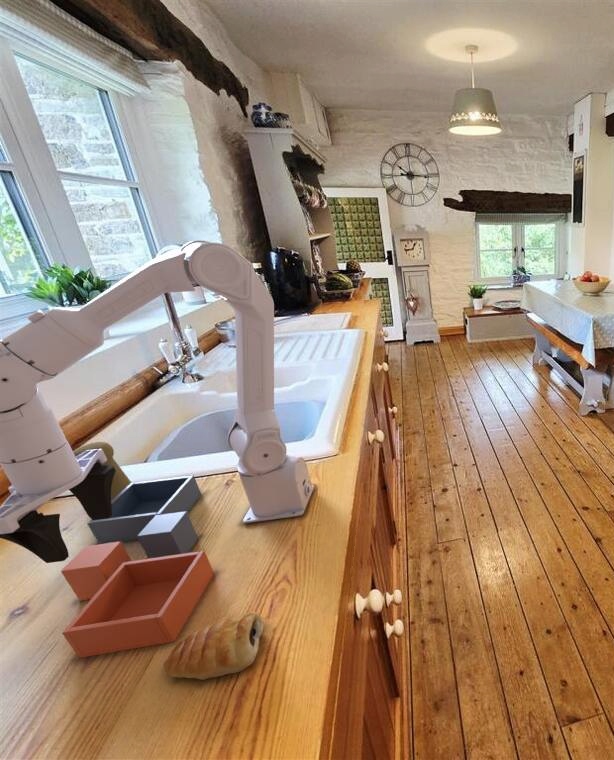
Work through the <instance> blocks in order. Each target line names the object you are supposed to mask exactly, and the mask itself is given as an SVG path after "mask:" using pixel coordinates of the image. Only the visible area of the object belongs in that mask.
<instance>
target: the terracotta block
mask: <svg viewBox="0 0 614 760" xmlns="http://www.w3.org/2000/svg"><path fill="white" fill-rule="evenodd" d="M129 561H132V559H131V557H130V555H129V553H128V551H127V550H126V548H125V546H124V544H123V542H121V541H120V542H113V543H105V544H98V543H97V544H92V545H91V544H90V545H86V546H85V547H84V548H83V549H82V550H80V551H79V553H78V554H77V555H76V556H75V557H74V558H72V560H71V561H70V562H68V564H66V565H65V567H64V568H62V570H60V573H61V575H62V576H63V577H64V579H65V580H66V582H67V584H68V585H69V586H70V588H71V589H72V591H73V593H74V595H75V596H76V597H77V600H78V601H79V602H80V601H87V600H91V599H92V598H93V597H94V595H95V594H96V593H97V592H98V591H99V590H100V589H101V587H102V586H103V585H104V584H105V583H106V582H107V580H108V579H109V578H110V577H111V576H112V575H113V573H114V572H115V571H116V570H117V569H118V568H119V567H120V565H121V564H122V563H123V562H129Z"/></svg>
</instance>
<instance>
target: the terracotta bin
mask: <svg viewBox="0 0 614 760" xmlns="http://www.w3.org/2000/svg"><path fill="white" fill-rule="evenodd" d="M214 575H215V571H214V569H213V567H212V565H211V562H210V560H209V558H208V556H207V553H206V552H205V550H200V551H199V550H198V551H193V552H189V553H184V554H177V555H171V556H164V557H157V558H150V559H148V558H144V559H143V558H142V559H136V560H131V561H129V562H123V563H122V564H121V565H120V567H119V568H118V569H117V570H116V571H115V572H114V573H113V575H112V576H111V577H110V578H109V579H108V580H107V582H106V583H105V584H104V585H103V586H102V587H101V589H100V590H99V591H98V592H97V593H96V594H95V595H94V597H93V598H92V599H89V601H88V602H87V603H86V604H85V606H84V607H83V608H82V609H81V610H80V611H79V613H78V614H77V615H76V616H75V617H74V618H73V619H72V621H71V622H70V623H69V624H68V626H66V628H65V629H64V630H63V631H62V633H61V634H62V636H63V637H64V638H65V639H66V641H67V642H68V644H69V645H70V647H71V648H72V650H73V651H74V652H75V654H76V655H77V657H78V659H83V658H88V657H92V656H98V655H105V654H110V653H115V652H123V651H128V650H133V649H139V648H146V647H151V646H156V645H157V646H158V645H162V644H169V643H174V642H175V641H176V640H177V638H178V636H179V634H180V633H181V631H182V629H183V627H184V626H185V624H186V622H187V621H188V619H189V617H190V615H191V614H192V612H193V610H194V609H195V607H196V606H197V604H198V603H199V600H200V599H201V597H202V595H203V593H204V592H205V590H206V588H207V587H208V585H209V584H210V581H211V580H212V578H213V576H214Z"/></svg>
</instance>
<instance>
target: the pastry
mask: <svg viewBox="0 0 614 760" xmlns="http://www.w3.org/2000/svg"><path fill="white" fill-rule="evenodd" d="M264 627H265V623H264V619H263V617H262V616H261V614H260V613H259V612H257V611H254V610H250V611H249V612H244V613H236V614H233V615H231V616H227V617H221V618H219V619H217V620H216V621H214V622H212V623H211V624H209V625H208V626H206V627H204V628H201V629H199V630H197V631H195V632H194V633H192V634H189V635H188V636H187V637H185V638H184V639H182V640H180V641H179V642H178V643H177V644H176V645H175V647H174V648H173V649H172V650H171V652H170V654H169V655H168V657H167V659H166V660H165V661H164V662H163V664H162V668H163V670H164V671H165V672H166V673H167V675H168V676H169V677H171V678H186V679H198V680H200V681H201V680H202V681H203V680H204V681H205V680H207V679H211V678H217V677H224V675H228V674H235V673H239V672H241V671H243V670H244V669H247V668H248V667H249V666H251V665H252V664H254V661H255V659H256V657H257V654H258V651H259V646H260V645H259V644H260V637H261V635H262V633H263V630H264Z"/></svg>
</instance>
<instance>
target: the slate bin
mask: <svg viewBox="0 0 614 760" xmlns="http://www.w3.org/2000/svg"><path fill="white" fill-rule="evenodd" d="M202 496H203V494H202V492H201V490H200V487H199V485H198V482H197V480H196V476H195V475H185V476H177V477H170V478H168V477H167V478H161V479H153V480H144V481H136V482H131V483H130V484H129V485H128V486H127V487H126V488H125V489H124V490H123V491H122V492H121V493H119V494H118V495H117V496H116V497H115V498H114V499H113V500H112V501H111V506H112V516H111V517H110V518H108V519H100V520H92V519H91V518H90V520H89V521H87V526H88V528H89V530H90V532H91V534H92V535H93V537H94V539H95V540H96V542H97V545H98V544H105V543H113V542H120V541H121V542H122V543H123V542H130V541H139V539H138V537H137V536H138V534H139V533H140V532H141V531H142V530H143V529H144V528H145V527H146V525H147V524H148V523H149V522H150V521H151V520H152V519H153V518H154V517H155V515H162V514H169V513H177V512H185V511H187V513H188V514H189V512H190V510H191V509H192V508H193V507H194V505H196V503H197V502H198V500H199V499H200V498H201V497H202Z"/></svg>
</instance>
